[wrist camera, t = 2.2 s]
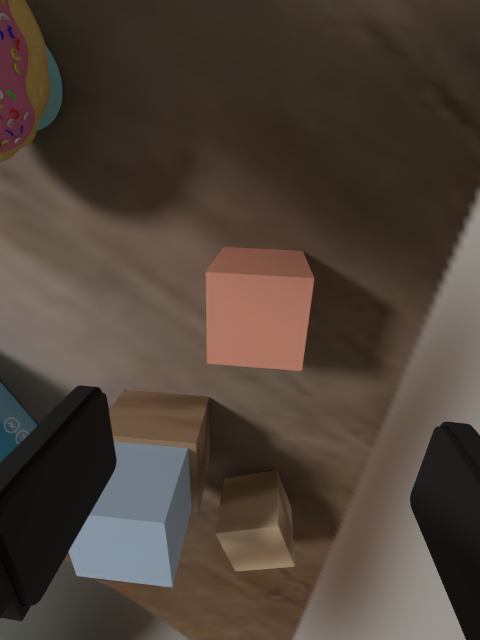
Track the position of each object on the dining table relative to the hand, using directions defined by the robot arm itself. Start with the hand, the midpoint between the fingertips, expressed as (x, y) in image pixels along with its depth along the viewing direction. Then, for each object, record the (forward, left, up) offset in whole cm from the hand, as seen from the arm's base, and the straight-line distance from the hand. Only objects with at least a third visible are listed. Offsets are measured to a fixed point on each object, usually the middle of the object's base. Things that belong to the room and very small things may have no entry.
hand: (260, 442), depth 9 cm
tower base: (+13, -7, -13) cm, 20 cm away
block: (+20, +1, -13) cm, 24 cm away
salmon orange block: (0, 0, -13) cm, 13 cm away
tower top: (+13, -8, -8) cm, 17 cm away
